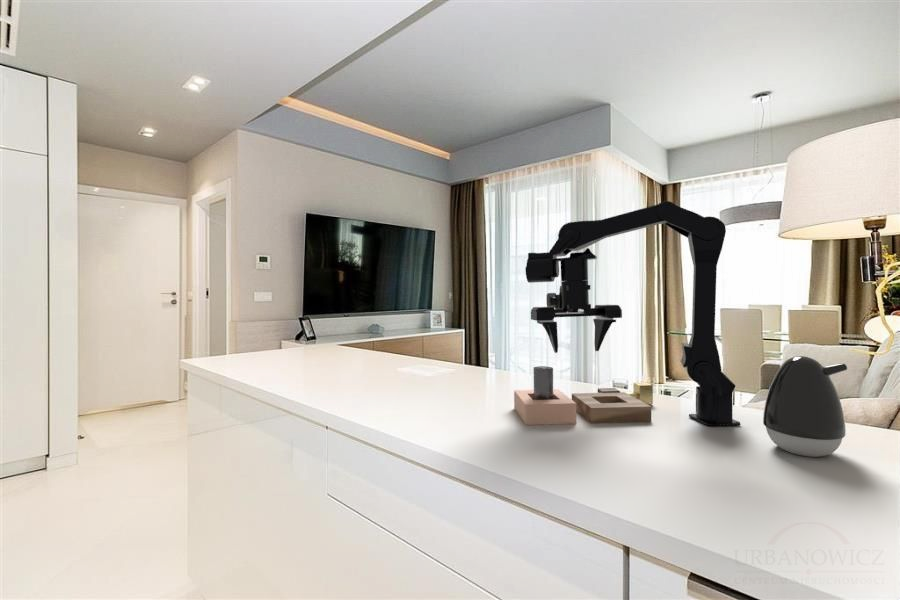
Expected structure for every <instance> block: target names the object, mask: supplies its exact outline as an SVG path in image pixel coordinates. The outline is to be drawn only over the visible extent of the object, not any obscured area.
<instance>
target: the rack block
mask: <svg viewBox="0 0 900 600" xmlns="http://www.w3.org/2000/svg"><path fill="white" fill-rule="evenodd" d="M513 395H514V396H513V397H514V398H513V402H514V403H513V405H514V407H513V408H514V410H515V411H516V413H517V414H518V416H519V417H520V419H521V420H522V421H523V423H524V425H526V426H529V425H530V426H536V425H542V426H543V425H566V424H567V425H568V424H572V425H574V424H575V425H576V424H577V411H576V403H575V402H574V401H573V400H572V398H570V397H569V396H567V394H565V393H564V392H562V391H561V390H560V389H559V388H558V389H557V388H556V389H554V388H553V400H534V389H520V390H518V389H517V390H513Z"/></svg>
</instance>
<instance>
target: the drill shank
mask: <svg viewBox="0 0 900 600" xmlns="http://www.w3.org/2000/svg"><path fill="white" fill-rule="evenodd" d="M553 389H554V368H553V367H551V366H547V365H546V366H545V365H544V366H538V365H537V366H534V367H533V390H534V400H553Z"/></svg>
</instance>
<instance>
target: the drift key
mask: <svg viewBox="0 0 900 600" xmlns="http://www.w3.org/2000/svg"><path fill="white" fill-rule="evenodd" d="M653 388H654V385H653V384H650V383H649V382H643V381H642V382H641V381H640V382H633V392H626V393H627V394H629V395H631V396H633V397H634V398H636V399H638V400H640V401H642V402H644V403H646V404H648V405H654V400H653V398H654V391H653V390H654V389H653Z"/></svg>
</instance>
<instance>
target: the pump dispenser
mask: <svg viewBox="0 0 900 600" xmlns="http://www.w3.org/2000/svg"><path fill="white" fill-rule="evenodd" d="M847 370H848V366H847V364H846V363H839V364H833V365H827V366H823V365H822V364H821V363H820V362H819V361H817V360H816V359H814V358H812V357H809V356H805V355H804V356H803V355H798V356H793V357H789V358H788V359H787V360H785V361H784V362H783V363H782V364H781V365H780V366H779V368H778V370H777V372H775V373H776V374H775V375H774V377H773V379H772V381H771V384H770V386H769V388H768V392H767V395H766V398H765V402H764V407H763V413H762V414H763V415H762V416H763V417H762V422H763V423H762V425H764V427H765V429H766V432H767V435H768V436H769V438H770V440H771V441H772V442H773V443H774V444H775V445H776V446H777V447H779V448H780V449H782V450H784V451H785V452H788V453H790V454H793V455H797V456H798V455H799V456H802V457H812V458H819V457H825V456H828V455H831V454H832V453H834V452H835V451H836V450H838V448H839V447H840V446H841V444H842V441H843V438H845V437H846V434H847V433H846V431H847V430H846V420H845V415H844V410H843V406H842V403H841V402H842V401H841V399H840V395H839V393H838V391H837V388H836V386H835V385H834V382H833V380H832V378H831V376H832V375H835V374H838V373H841V372H844V371H847Z"/></svg>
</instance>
